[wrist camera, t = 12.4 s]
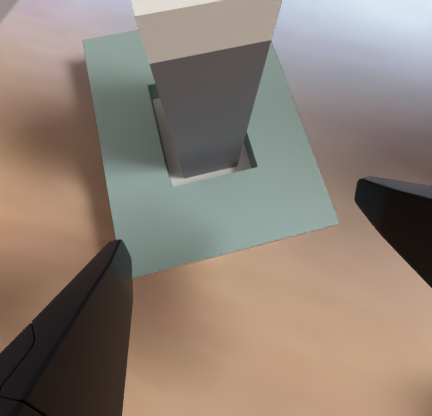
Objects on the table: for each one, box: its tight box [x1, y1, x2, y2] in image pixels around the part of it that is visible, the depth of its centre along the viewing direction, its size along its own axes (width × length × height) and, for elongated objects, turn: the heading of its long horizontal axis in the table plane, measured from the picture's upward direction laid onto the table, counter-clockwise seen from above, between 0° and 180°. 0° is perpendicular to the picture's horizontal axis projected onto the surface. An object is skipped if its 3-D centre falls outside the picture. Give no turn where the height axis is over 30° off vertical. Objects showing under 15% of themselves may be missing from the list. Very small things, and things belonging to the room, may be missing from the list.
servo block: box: [131, 0, 282, 178], centre depth 13 cm, size 6×4×12 cm, turn 14°
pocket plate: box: [82, 30, 340, 279], centre depth 18 cm, size 18×14×2 cm
